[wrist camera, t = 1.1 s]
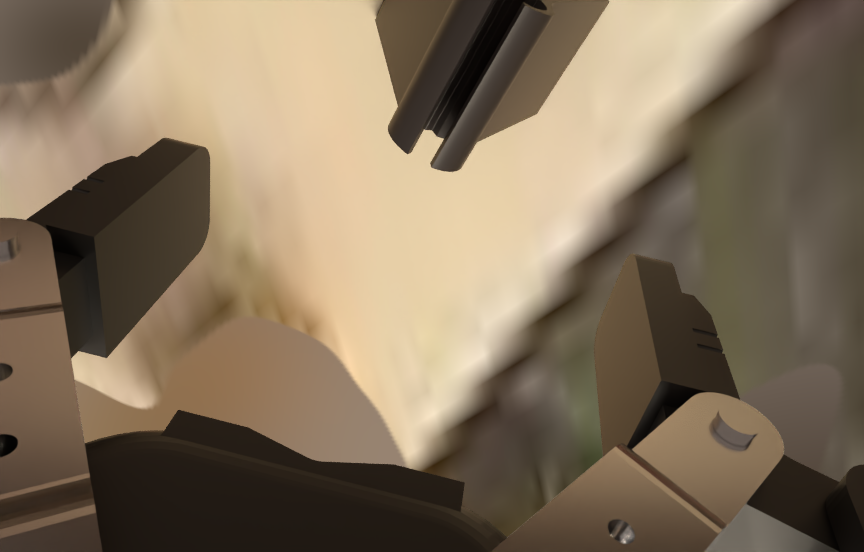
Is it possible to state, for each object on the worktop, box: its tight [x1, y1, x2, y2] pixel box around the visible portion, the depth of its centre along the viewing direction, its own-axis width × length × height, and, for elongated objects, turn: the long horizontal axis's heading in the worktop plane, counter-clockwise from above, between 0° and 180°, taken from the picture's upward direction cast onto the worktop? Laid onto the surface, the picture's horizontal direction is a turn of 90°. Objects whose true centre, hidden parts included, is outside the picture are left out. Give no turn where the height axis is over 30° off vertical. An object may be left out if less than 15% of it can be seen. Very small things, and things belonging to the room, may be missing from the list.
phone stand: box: [375, 0, 609, 172], centre depth 26 cm, size 9×6×12 cm, turn 62°
